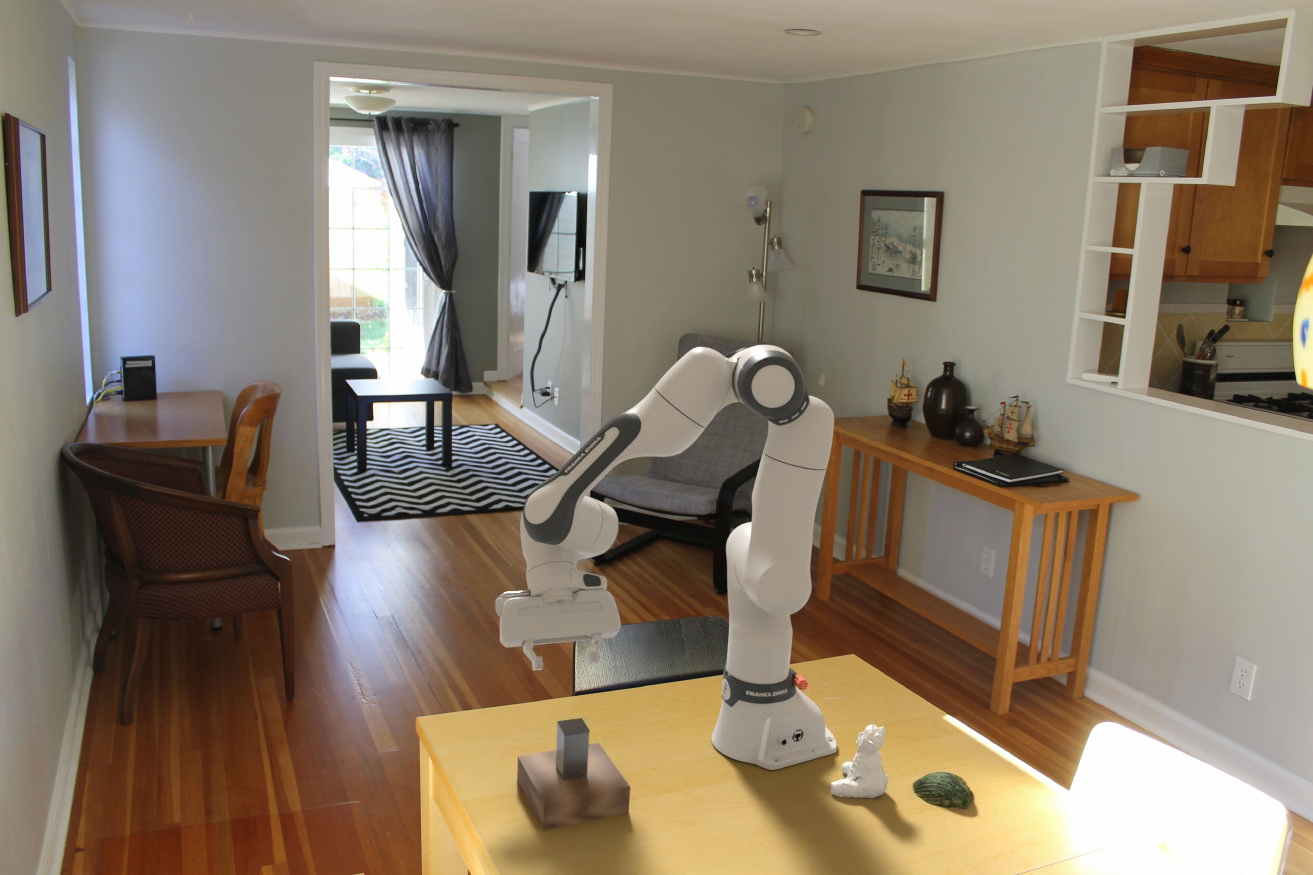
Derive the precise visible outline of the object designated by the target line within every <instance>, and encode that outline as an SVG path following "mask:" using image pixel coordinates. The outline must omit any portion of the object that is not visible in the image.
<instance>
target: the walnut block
mask: <svg viewBox="0 0 1313 875" xmlns="http://www.w3.org/2000/svg"><path fill="white" fill-rule="evenodd" d="M516 773H517V776H516V782H517V784H518V786H519V788H520V790H521V791H522V793H523V795H524V797H525V799H526V801H527V803H528V805H529V806H530V808H531V810H532V813H533V814H534V815H535V818H536V819H537V821H538V824H539V825H540V828H541V829H542V831H545V830H546V831H547V830H551V829H552V830H553V829H556V828H560V827H565V826H570V825H576V824H581V823H586V822H590V821H594V820H599V819H600V820H601V819H606V818H609V817H615V816H620V815H624V814H628V813H630V812H629V811H630V799H631V798H630V797H631V785H630V784H629V783H628V781H627V780H626V779H625V778H624V776H623V775H622V773H621V772H620V770H619V769H618V768H617V766H616V764H614V761H613V760H612V759H611V758H610V756H609V755H608V754H607V753H606V750H604V748H603V747H602V746H601V744H600V743H599V742H594V743H589V746H588V768H587V777H580V778H574V779H567V780H562V778H561V776H560V774H559V772H558V770H557V768H556V749H553V750H548V751H543V752H541V751H540V752H536V753H530V754H524V755H518V756H517V772H516Z"/></svg>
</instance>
